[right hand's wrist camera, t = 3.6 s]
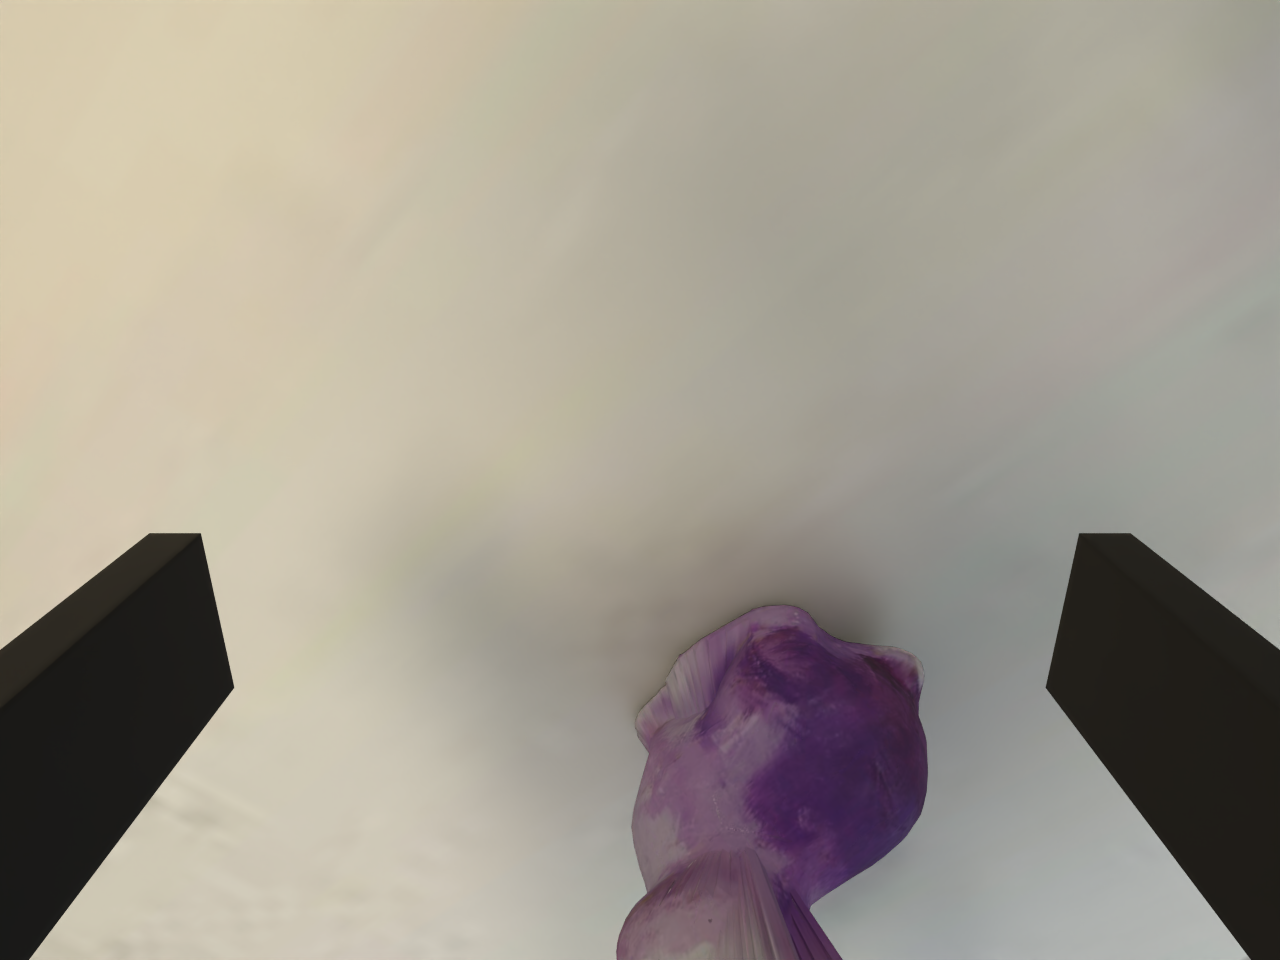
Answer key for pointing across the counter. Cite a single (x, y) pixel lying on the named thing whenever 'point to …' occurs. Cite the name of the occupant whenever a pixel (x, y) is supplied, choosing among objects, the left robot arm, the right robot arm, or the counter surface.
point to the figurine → (769, 787)
